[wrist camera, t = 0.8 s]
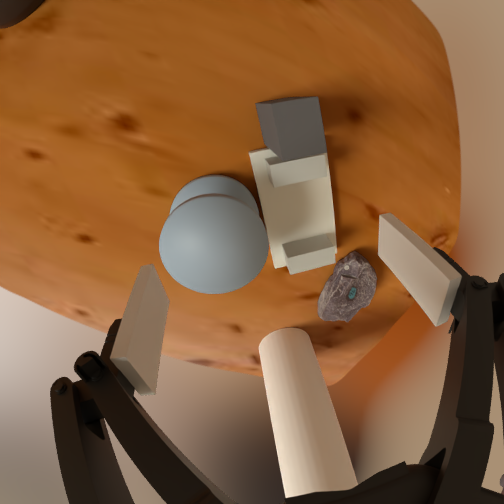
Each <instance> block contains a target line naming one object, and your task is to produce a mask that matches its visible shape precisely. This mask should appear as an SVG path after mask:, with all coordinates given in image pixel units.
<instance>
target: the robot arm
mask: <svg viewBox="0 0 504 504" xmlns="http://www.w3.org/2000/svg"><path fill="white" fill-rule="evenodd" d="M43 1H44V0H0V28H8V27H11V26H13V25H15V24H17V23H18V22H20V21H22V20H23V19H24V18H26V17H27V16H28V15H30V14H31V13H32V12H33V11H34V10H35V9H36V8H37V7H38V6H39V5H40V4H41V3H42V2H43ZM378 256H379V257H380V258H381V259H382V260H383V261H384V263H385V264H386V265H387V266H388V267H389V268H390V270H391V271H392V272H393V273H394V274H395V276H396V277H397V278H398V279H399V280H400V282H401V283H402V284H403V285H404V286H405V288H406V289H407V290H408V291H409V293H410V294H411V295H412V296H413V298H414V299H415V300H416V301H417V303H418V304H419V305H420V307H421V308H422V309H423V310H424V312H425V313H426V314H427V316H428V317H429V318H430V320H431V321H432V322H433V324H434V325H435V326H438V325H441V324H443V323H445V322H447V320H448V318H449V315H450V312H451V313H452V315H453V316H454V320H453V322H452V325H451V327H450V330H449V333H451V330H452V334H451V343H450V351H449V358H448V365H447V370H446V376H445V382H444V387H443V392H442V396H441V401H440V405H439V409H438V413H437V417H436V421H435V424H434V428H433V431H432V435H431V438H430V441H429V444H428V446H427V448H426V450H425V452H424V453H423V455H422V457H421V459H420V462H419V464H411V465H406V463H405V461H404V462H402V463H399V464H397V465H395V466H392V467H390V468H388V469H385V470H383V471H380V472H378V473H376V474H375V475H373V476H372V477H370V478H368V479H367V480H365V481H364V482H362V483H361V484H359V485H357V486H355V487H353V488H352V489H349V490H340V491H321V492H312V493H308V494H304V495H299V496H294V497H289V498H285V502H284V503H281V504H504V474H503V475H502V477H501V479H500V485H501V486H502V487H503V491H502V493H501V494H500V493H497V492H494V491H492V490H489V489H486V488H483V487H481V485H482V482H483V479H484V475H485V471H486V467H487V463H488V459H489V455H490V450H491V444H492V440H493V434H494V425H493V424H492V423H490V422H489V414H490V406H491V397H492V387H493V368H494V363H495V369H496V374H497V380H498V385H499V392H500V400H501V408H502V420H503V436H504V273H502V274H501V275H500V277H499V280H498V282H494V283H488V282H487V281H486V280H485V279H484V278H482V277H479V276H470V275H468V274H467V273H466V272H465V271H464V270H463V269H462V268H461V267H460V266H459V265H458V264H457V263H456V262H454V260H453V259H452V258H450V257H449V256H448V255H447V254H446V253H445V252H444V251H442V250H440V249H438V248H436V247H434V248H432V247H430V246H429V245H428V244H427V243H426V242H425V241H424V240H423V239H421V238H420V237H419V236H418V235H417V234H416V233H414V232H413V231H412V230H411V229H410V228H408V227H407V226H406V225H405V224H404V223H402V222H401V221H400V220H399V219H397V218H396V217H395V216H394V215H392V214H391V213H387V214H382V215H380V217H379V244H378ZM168 307H169V299H168V297H167V295H166V292H165V290H164V288H163V286H162V283H161V281H160V279H159V276H158V274H157V272H156V269H155V267H154V265H153V264H150V265H145V266H141V268H140V270H139V273H138V276H137V278H136V281H135V284H134V286H133V289H132V292H131V295H130V297H129V300H128V303H127V306H126V309H125V312H124V315H123V318H122V319H116V320H115V321H114V322H113V324H112V325H111V326H110V328H109V331H108V334H107V337H106V340H105V343H104V346H103V349H102V352H101V355H100V356H99V355H98V354H97V353H96V352H94V351H88V352H85V353H83V354H82V355H81V356H79V357H78V359H77V360H76V362H75V365H74V370H75V372H76V373H77V374H78V375H79V377H80V378H81V379H82V380H80V381H76V382H74V383H73V382H72V381H71V380H70V379H69V378H67V377H61V378H59V379H57V380H56V381H55V382H54V383H53V385H52V387H51V391H50V397H51V409H52V420H53V428H54V436H55V442H56V449H57V454H58V460H59V465H60V469H61V474H62V478H63V482H64V486H65V490H66V494H67V497H68V500H69V504H135V503H134V501H133V499H132V497H131V494H130V492H129V490H128V487H127V485H126V483H125V480H124V478H123V475H122V473H121V470H120V467H119V465H118V462H117V459H116V456H115V453H114V450H113V447H112V444H111V441H110V438H109V434H108V431H107V428H106V424H105V421H104V418H105V420H106V421H107V423H108V425H109V426H110V428H111V429H112V431H113V433H114V434H115V436H116V438H117V439H118V441H119V442H120V444H121V445H122V447H123V448H124V449H125V451H126V452H127V454H128V455H129V457H130V458H131V460H132V461H133V462H134V464H135V465H136V466H137V468H138V469H139V470H140V472H141V473H142V474H143V476H144V477H145V478H146V479H147V481H148V482H149V483H150V484H151V486H152V487H153V488H154V489H155V490H156V492H157V493H158V494H159V495H160V496H161V497H162V499H163V500H164V501H165V502H166V503H167V504H238V503H236V502H235V501H234V500H232V499H231V498H230V497H228V496H227V495H226V494H225V493H224V492H223V491H222V490H220V489H219V488H218V487H217V486H216V485H215V484H214V483H212V482H211V481H210V480H209V479H208V478H207V477H206V476H205V475H204V474H203V473H202V472H200V470H199V469H198V468H197V467H196V466H195V465H194V464H192V463H191V462H190V460H188V458H187V457H186V456H184V454H183V453H182V452H181V451H180V450H179V449H178V448H177V447H176V446H175V445H174V444H173V443H172V442H171V440H170V439H169V438H168V437H167V436H166V435H165V434H164V433H163V431H162V430H161V429H160V428H159V427H158V426H157V424H156V423H155V422H154V421H153V420H152V418H151V417H150V416H149V415H148V413H146V411H145V410H144V409H143V407H142V406H141V405H140V403H139V402H138V401H137V399H136V398H135V397H134V390H136V391H137V392H138V393H139V394H140V395H155V394H156V386H157V378H158V370H159V363H160V356H161V349H162V342H163V336H164V330H165V324H166V318H167V312H168Z"/></svg>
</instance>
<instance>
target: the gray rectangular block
mask: <svg viewBox="0 0 504 504" xmlns="http://www.w3.org/2000/svg"><path fill="white" fill-rule="evenodd" d="M255 104H256V108H257V113H258V117H259V122H260V126H261V131H262V135H263V140H264V144H265V145H266V146H267V147H268V148H269V149H270V150H272V151H273V152H274V153H275V154H276V155H277V156H278V157H279V158H280V159H281V160H282V161H286V160H291V159H296V158H301V157H306V156H311V155H317V154H322V153H327V148H326V141H325V135H324V128H323V122H322V117H321V111H320V105H319V100H318V97H288V98H282V99H276V100H271V101H265V102H260V103H255Z"/></svg>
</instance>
